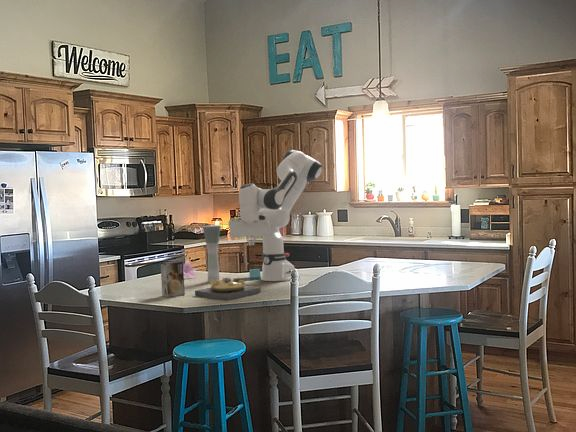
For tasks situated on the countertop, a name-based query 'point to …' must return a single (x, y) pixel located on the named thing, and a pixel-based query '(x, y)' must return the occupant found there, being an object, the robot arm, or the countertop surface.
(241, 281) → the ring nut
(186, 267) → the lily
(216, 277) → the container
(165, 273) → the coffee box
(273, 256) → the robot arm
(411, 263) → the countertop surface
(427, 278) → the countertop surface
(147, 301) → the countertop surface
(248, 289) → the dark grey square slab
